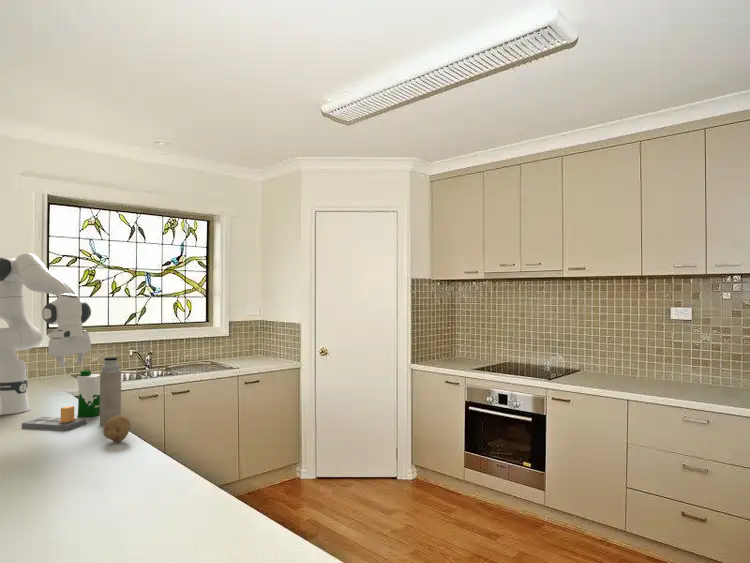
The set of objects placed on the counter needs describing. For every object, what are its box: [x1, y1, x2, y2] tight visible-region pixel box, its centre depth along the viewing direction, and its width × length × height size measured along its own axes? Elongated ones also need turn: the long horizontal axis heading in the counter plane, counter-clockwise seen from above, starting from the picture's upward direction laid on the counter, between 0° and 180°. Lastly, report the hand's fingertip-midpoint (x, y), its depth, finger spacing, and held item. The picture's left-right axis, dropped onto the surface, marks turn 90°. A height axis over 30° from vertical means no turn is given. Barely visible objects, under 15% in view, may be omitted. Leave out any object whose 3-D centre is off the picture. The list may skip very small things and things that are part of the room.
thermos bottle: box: [99, 356, 122, 427], centre depth 221 cm, size 8×8×28 cm
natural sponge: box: [103, 415, 132, 444], centre depth 194 cm, size 9×9×10 cm
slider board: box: [21, 416, 88, 432], centre depth 217 cm, size 21×11×2 cm, turn 80°
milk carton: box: [76, 369, 100, 418], centre depth 236 cm, size 9×9×20 cm
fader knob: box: [59, 405, 77, 422], centre depth 216 cm, size 4×5×6 cm
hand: (71, 365), depth 219 cm, fingers open, 8 cm apart
